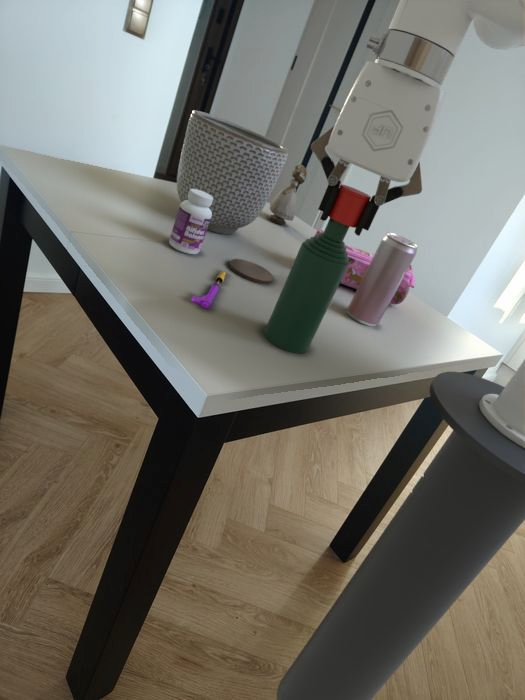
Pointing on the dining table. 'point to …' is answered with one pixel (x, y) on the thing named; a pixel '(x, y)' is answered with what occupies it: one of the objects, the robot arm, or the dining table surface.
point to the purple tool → (209, 293)
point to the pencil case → (359, 266)
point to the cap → (349, 206)
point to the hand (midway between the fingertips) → (341, 224)
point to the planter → (228, 169)
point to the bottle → (309, 289)
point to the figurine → (287, 198)
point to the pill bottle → (192, 222)
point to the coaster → (251, 271)
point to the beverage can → (382, 279)
